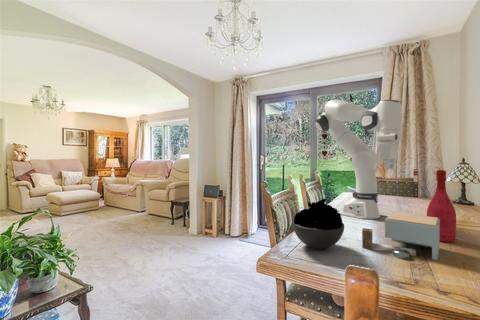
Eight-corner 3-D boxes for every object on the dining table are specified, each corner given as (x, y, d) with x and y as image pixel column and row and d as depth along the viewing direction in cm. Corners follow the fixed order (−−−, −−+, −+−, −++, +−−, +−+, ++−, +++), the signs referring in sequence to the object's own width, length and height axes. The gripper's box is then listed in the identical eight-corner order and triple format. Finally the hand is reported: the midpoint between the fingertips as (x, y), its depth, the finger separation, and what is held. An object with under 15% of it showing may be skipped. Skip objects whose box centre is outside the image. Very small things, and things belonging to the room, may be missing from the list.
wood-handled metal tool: (362, 247, 96) (362, 230, 96) (362, 244, 99) (362, 228, 99) (416, 256, 87) (416, 237, 87) (414, 252, 90) (414, 234, 90)
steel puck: (393, 257, 87) (393, 252, 87) (393, 252, 91) (393, 247, 91) (409, 261, 84) (409, 255, 84) (409, 255, 88) (409, 250, 88)
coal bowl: (315, 261, 84) (314, 208, 84) (283, 242, 103) (282, 199, 102) (356, 251, 92) (356, 203, 92) (319, 235, 111) (319, 195, 110)
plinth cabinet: (385, 248, 95) (384, 218, 94) (391, 238, 105) (391, 211, 105) (437, 260, 84) (437, 225, 84) (439, 248, 94) (439, 217, 94)
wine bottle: (449, 236, 107) (449, 169, 106) (461, 244, 98) (461, 170, 97) (422, 234, 110) (423, 169, 110) (432, 241, 101) (432, 170, 100)
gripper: (386, 138, 113) (385, 167, 114) (375, 136, 98) (375, 170, 99) (402, 137, 109) (401, 168, 110) (393, 135, 94) (393, 170, 94)
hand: (389, 169), depth 104 cm, fingers open, 8 cm apart
